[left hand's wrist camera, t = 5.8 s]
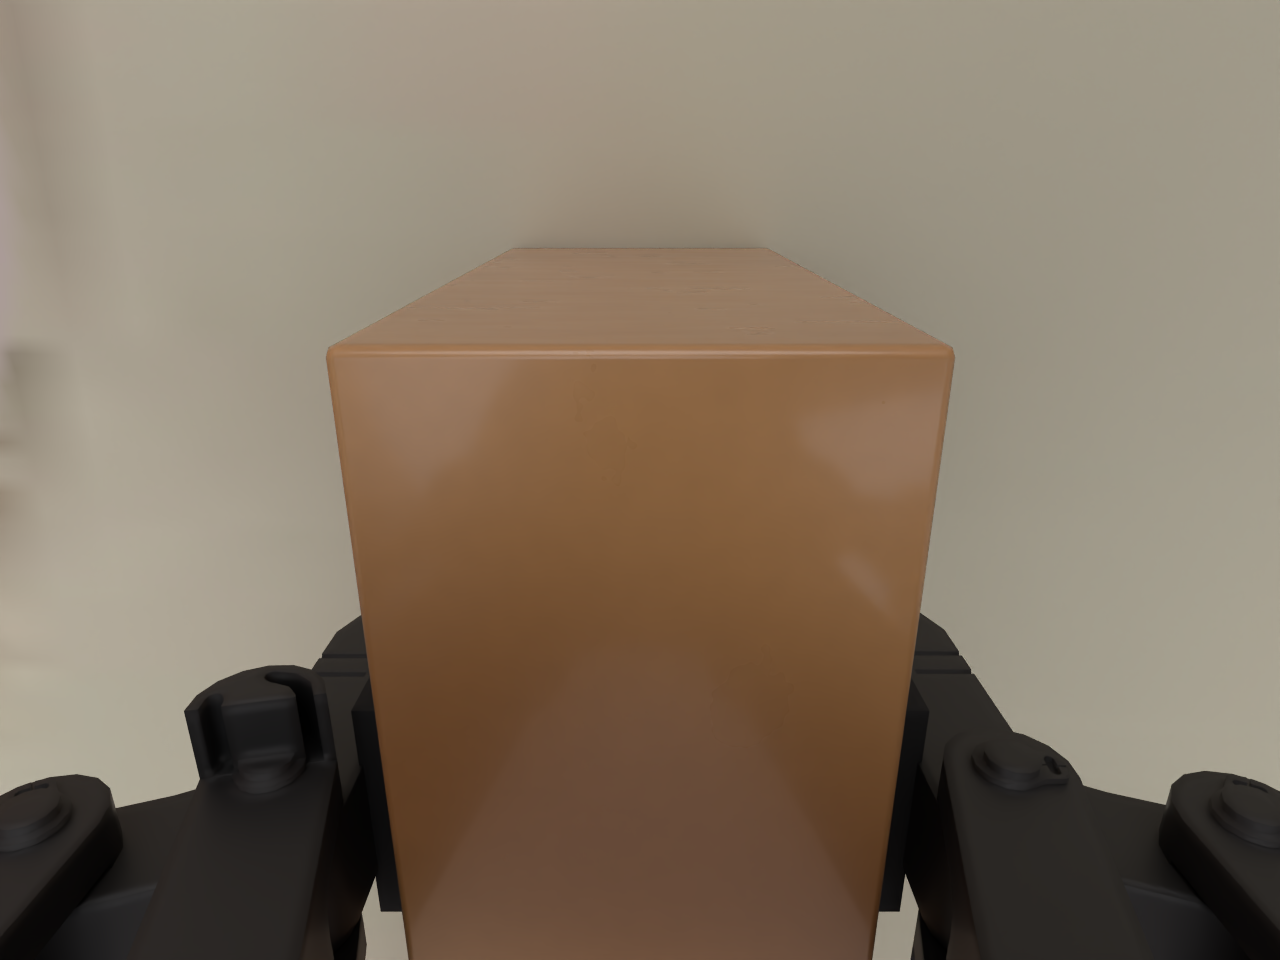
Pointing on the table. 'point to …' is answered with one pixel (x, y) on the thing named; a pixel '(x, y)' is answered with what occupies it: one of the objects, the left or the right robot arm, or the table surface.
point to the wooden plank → (640, 599)
